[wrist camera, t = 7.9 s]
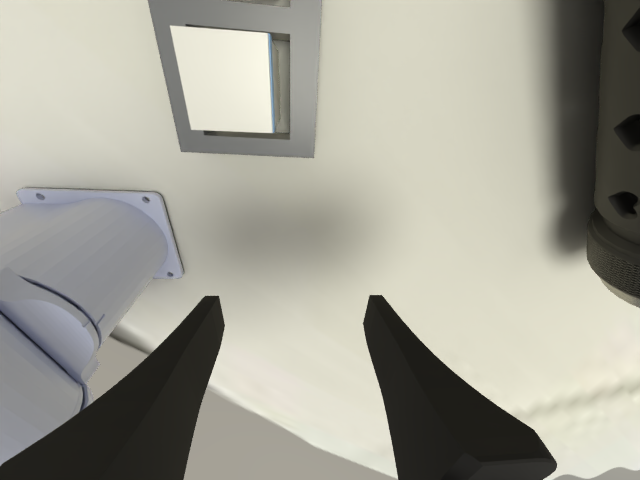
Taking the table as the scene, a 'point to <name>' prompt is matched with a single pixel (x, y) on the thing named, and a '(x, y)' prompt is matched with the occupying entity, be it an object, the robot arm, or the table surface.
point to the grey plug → (228, 79)
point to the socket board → (281, 22)
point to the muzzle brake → (618, 156)
